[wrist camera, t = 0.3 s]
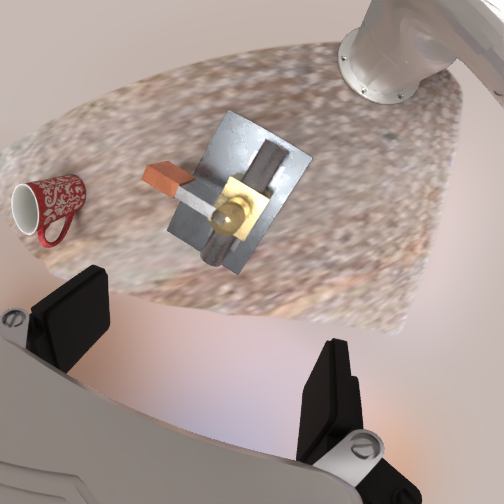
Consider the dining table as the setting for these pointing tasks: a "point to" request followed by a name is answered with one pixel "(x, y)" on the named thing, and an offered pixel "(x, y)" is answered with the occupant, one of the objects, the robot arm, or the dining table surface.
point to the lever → (198, 196)
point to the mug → (47, 205)
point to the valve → (240, 188)
